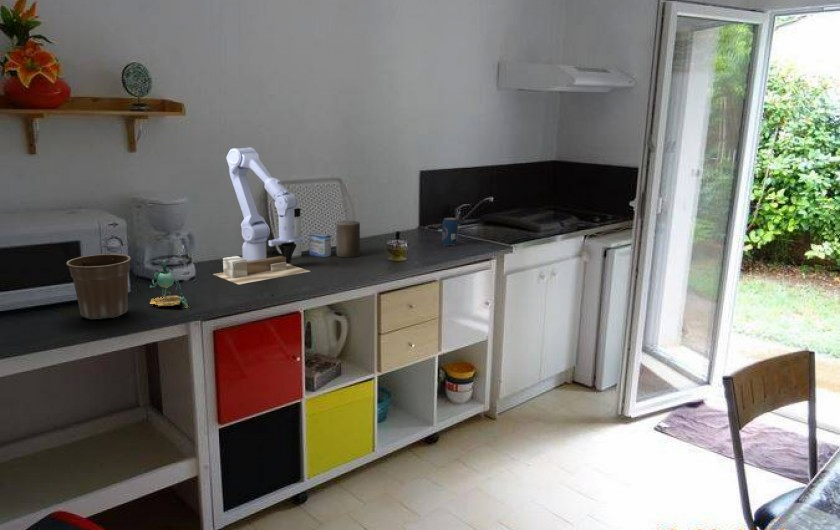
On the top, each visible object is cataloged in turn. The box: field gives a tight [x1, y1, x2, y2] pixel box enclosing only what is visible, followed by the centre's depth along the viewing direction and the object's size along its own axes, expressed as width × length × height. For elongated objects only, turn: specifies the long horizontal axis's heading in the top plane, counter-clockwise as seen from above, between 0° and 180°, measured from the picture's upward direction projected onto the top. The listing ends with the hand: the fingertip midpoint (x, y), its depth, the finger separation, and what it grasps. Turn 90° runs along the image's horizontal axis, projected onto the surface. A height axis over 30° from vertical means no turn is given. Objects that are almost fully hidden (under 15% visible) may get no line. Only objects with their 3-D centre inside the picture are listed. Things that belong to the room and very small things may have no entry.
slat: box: [247, 255, 286, 275], centre depth 240 cm, size 3×16×4 cm, turn 134°
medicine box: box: [308, 233, 332, 258], centre depth 271 cm, size 8×4×9 cm, turn 62°
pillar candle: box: [335, 220, 361, 259], centre depth 271 cm, size 10×10×15 cm
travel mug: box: [291, 207, 302, 259], centre depth 266 cm, size 6×7×20 cm
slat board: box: [212, 255, 311, 285], centre depth 237 cm, size 18×29×7 cm, turn 134°
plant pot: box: [66, 253, 132, 319], centre depth 188 cm, size 16×16×16 cm
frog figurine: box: [149, 260, 189, 308], centre depth 200 cm, size 10×18×15 cm, turn 44°
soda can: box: [441, 217, 459, 245], centre depth 298 cm, size 7×7×12 cm
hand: (287, 262), depth 247 cm, fingers closed
